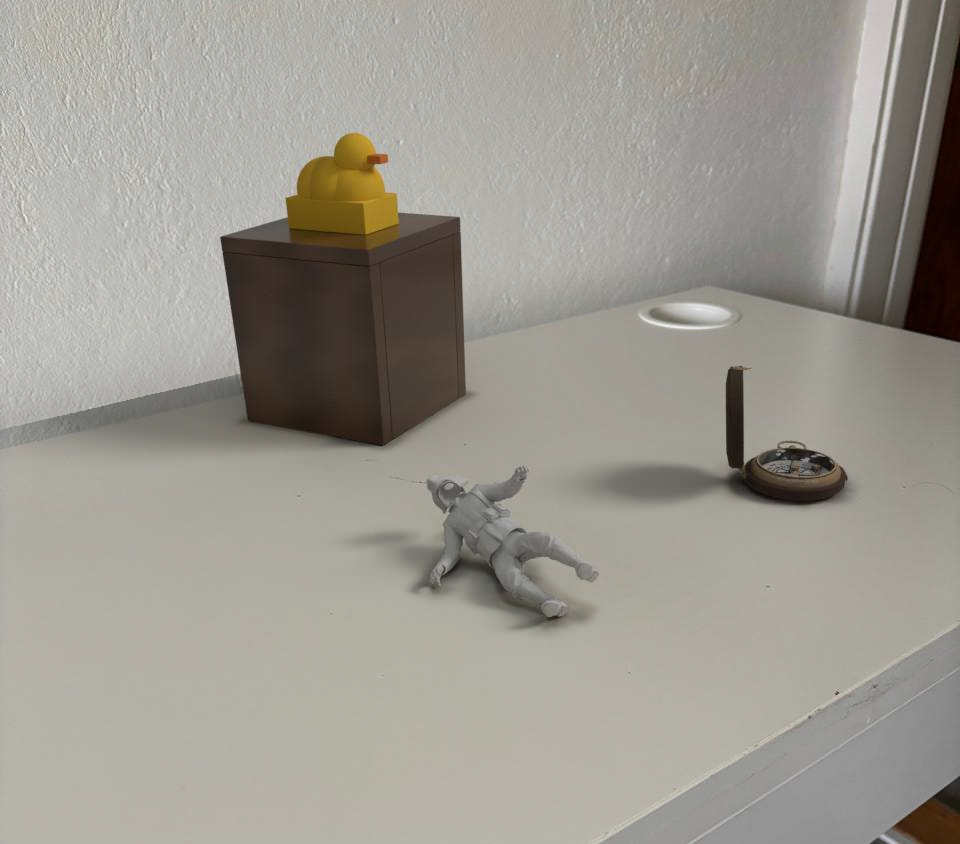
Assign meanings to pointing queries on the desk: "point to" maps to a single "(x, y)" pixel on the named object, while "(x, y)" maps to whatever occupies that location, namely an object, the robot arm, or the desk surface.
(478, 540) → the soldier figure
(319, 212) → the rubber duck
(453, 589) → the desk surface
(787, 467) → the compass
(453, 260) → the brown wooden box
